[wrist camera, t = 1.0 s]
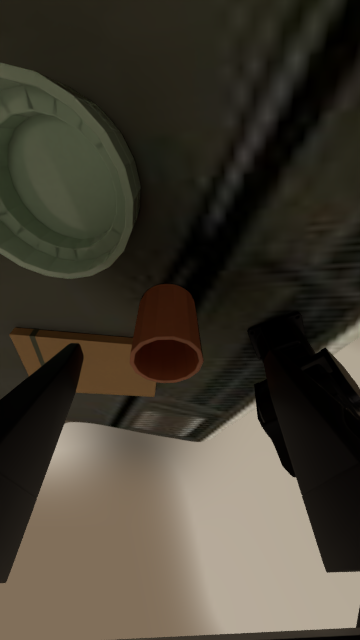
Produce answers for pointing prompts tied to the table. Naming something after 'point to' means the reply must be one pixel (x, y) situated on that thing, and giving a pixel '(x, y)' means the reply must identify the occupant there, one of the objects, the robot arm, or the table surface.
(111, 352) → the notebook
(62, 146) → the bowl
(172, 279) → the table surface
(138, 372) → the cup
